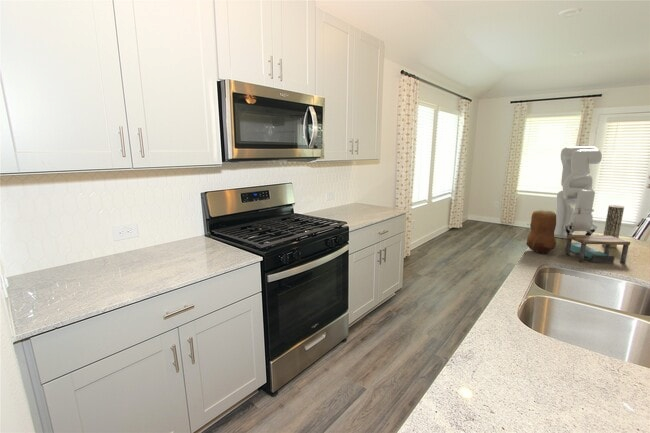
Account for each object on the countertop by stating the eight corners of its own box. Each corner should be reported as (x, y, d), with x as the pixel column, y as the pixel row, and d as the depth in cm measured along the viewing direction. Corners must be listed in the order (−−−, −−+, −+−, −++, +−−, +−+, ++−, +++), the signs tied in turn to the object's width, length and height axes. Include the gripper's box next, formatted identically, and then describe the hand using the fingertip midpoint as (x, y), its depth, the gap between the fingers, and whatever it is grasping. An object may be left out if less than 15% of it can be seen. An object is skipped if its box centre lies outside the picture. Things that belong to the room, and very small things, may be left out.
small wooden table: (564, 254, 175) (567, 234, 172) (606, 255, 172) (610, 235, 170) (580, 262, 162) (583, 241, 160) (626, 263, 160) (630, 242, 157)
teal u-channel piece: (566, 248, 185) (567, 242, 184) (577, 249, 184) (578, 242, 183) (593, 261, 163) (595, 254, 162) (606, 261, 163) (607, 254, 162)
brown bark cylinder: (619, 248, 186) (627, 206, 181) (608, 248, 186) (615, 206, 181) (609, 244, 192) (617, 205, 188) (598, 244, 193) (605, 205, 188)
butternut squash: (545, 249, 184) (551, 207, 179) (559, 256, 171) (566, 212, 166) (520, 248, 186) (525, 207, 181) (533, 255, 173) (539, 211, 168)
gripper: (594, 210, 178) (589, 238, 182) (562, 210, 180) (557, 238, 184) (604, 212, 171) (599, 242, 175) (570, 212, 173) (566, 242, 177)
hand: (577, 240), depth 180 cm, fingers open, 9 cm apart
